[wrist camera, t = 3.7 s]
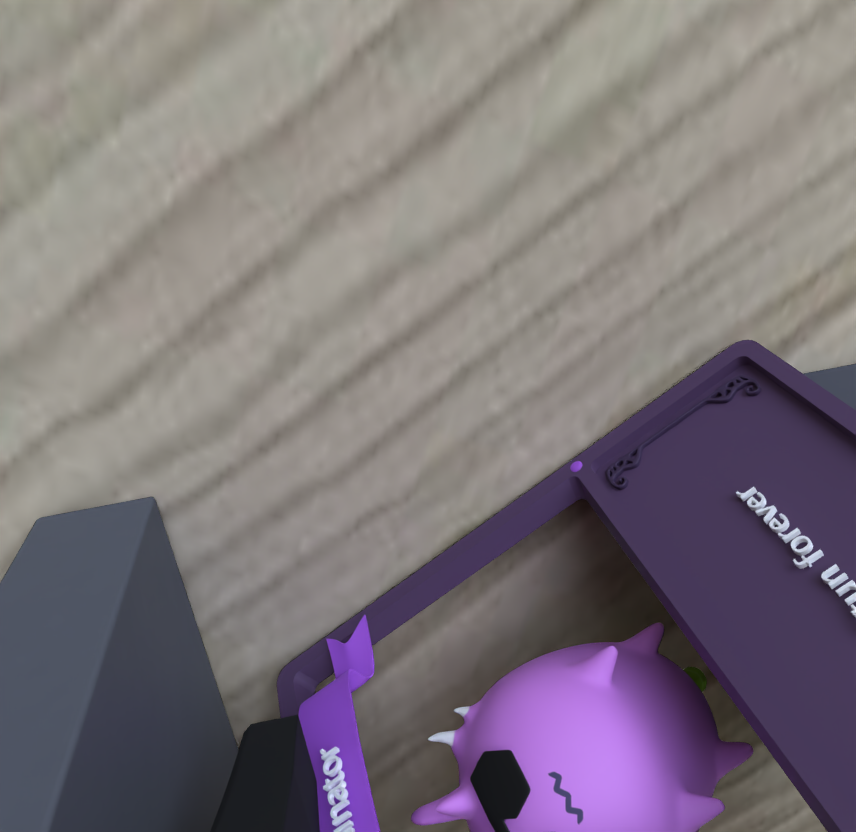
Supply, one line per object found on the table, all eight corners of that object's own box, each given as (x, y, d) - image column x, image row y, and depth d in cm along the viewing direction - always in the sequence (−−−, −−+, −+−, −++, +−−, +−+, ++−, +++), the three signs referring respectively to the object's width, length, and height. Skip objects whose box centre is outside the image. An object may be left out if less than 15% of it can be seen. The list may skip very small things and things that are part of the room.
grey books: (174, 843, 13) (101, 1321, 8) (36, 516, 10) (-221, 958, 5) (821, 687, 14) (1109, 1013, 9) (873, 358, 11) (1342, 577, 6)
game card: (1349, 696, 5) (295, 1308, 6) (1258, 885, 8) (572, 1268, 9) (730, 299, 10) (243, 653, 11) (817, 500, 13) (425, 766, 14)
